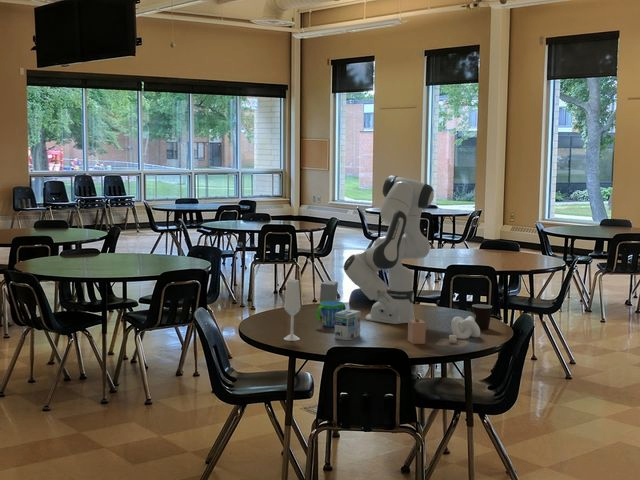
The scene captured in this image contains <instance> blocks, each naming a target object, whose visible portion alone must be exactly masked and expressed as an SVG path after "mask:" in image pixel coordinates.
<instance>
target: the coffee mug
mask: <svg viewBox="0 0 640 480" xmlns="http://www.w3.org/2000/svg"><path fill="white" fill-rule="evenodd" d="M471 308H472V317H473V318H474V319H475V322H476V323H477V325H478V326H479V328H480V331H488V330H489V329H490V324H491V323H490V321H491V317H492V310H493V305H490V304H481V303H480V304H479V303H477V304H472V305H471Z"/></svg>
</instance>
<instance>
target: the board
mask: <svg viewBox="0 0 640 480" xmlns="http://www.w3.org/2000/svg"><path fill="white" fill-rule="evenodd" d="M470 343H471V342H470V340H463V339H462V340H461V339H457V343H456V344H451V343H449V338H440V339H439V340H438V341H437V342H436V343H435V346H443V347H454V348H461V349H462V348H463V349H465V348H467V346H468V345H469V344H470Z"/></svg>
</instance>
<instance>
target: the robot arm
mask: <svg viewBox="0 0 640 480" xmlns="http://www.w3.org/2000/svg"><path fill="white" fill-rule="evenodd" d="M434 191H435V189H434V188H433V186H432V185H430V184H428V183H423V182H421V181H419V180H416V179H413V178H407V177H402V176H398V175H389V176H387V177H386V179H385V180H384V182H383V184H382V195H383V197H384V200H383V203H382V205H381V209H380V212H379V213H380V217H381V219H382V221H383V222H384V223H386V224H387V225H388V229H387V231H386V235H383V236H382V235H381V236H379V237H377V239H375V242H374V244H373V246H371V247H369V248H367V249H364V250H363V251H361V252H360V253H356V254H351V255H350V256H349V257H348V258H347V259H346V260H345V262H344V264H343V271H344V273H345V274H346V276H347V277H348V278H349V280H350V281H351V282H352V283H353V284H354V285H355V286H357V287H358V288H359V289H360V290H361V292H362V293H363V294H364V295H365V296H366V297H367V298H368V299H369V300H370V301H373V300H374V301H376V302H375V303H373V305H372V307H371V308H370V309H371V311H370V313H368V314H367V315H366V316H365V320H366V321H371V322H372V321H373V322H378V323H379V322H380V323H384V324H385V323H386V324H394V325H398V324H408V320H415V317H416V316H415V312H414V299H415V298H414V297H415V292H414V289H413V287H414V273H413V271H412V270H411V269H409V268H408V267H406V266H404V265H403V263H402V260H418V259H424V258H426V257H427V256H428V255H429V253H430V251H431V244H430V240H429V239H428V238H427V237H425V235H424V234H423V233H422V232H421V229H420V227H421V226H420V223H421V218H422V217H421V215H422V210H423V209H427V208H428V207H430V205H431V204H432V202H433V200H434V196H435V192H434ZM382 270H387V275H388V276H387V277H388V287H387V284H386V282H384V280H383V279H381V277H379V275H378V272H379V271H382Z"/></svg>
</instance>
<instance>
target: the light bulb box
mask: <svg viewBox="0 0 640 480" xmlns="http://www.w3.org/2000/svg"><path fill="white" fill-rule="evenodd" d="M361 319H362V312H361V310H356V309H348V308H346V310H343V311H340V312H337V313H335V327H334V339H338V340H344V341H350V340H353V339H355V338H359V337H360V336H361Z"/></svg>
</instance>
